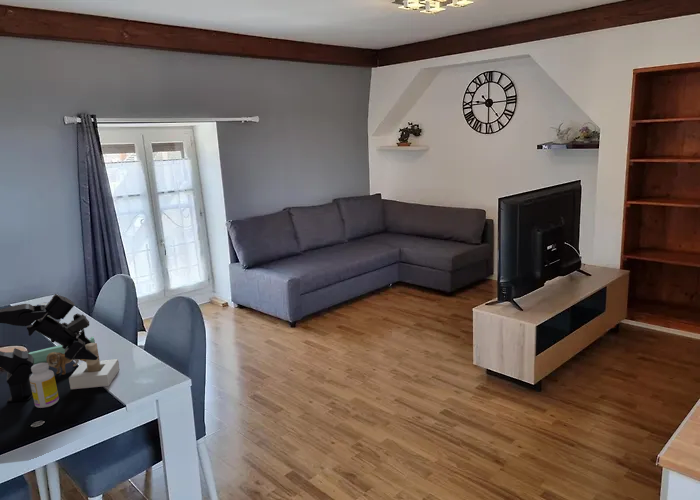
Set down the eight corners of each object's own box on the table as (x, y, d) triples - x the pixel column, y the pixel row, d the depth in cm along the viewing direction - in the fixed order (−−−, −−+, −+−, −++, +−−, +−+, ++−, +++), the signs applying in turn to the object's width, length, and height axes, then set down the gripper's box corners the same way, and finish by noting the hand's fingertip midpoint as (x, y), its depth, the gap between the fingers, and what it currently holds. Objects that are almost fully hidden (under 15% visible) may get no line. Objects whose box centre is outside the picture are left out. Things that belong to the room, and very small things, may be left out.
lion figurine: (55, 380, 175) (51, 356, 173) (45, 377, 178) (41, 353, 176) (93, 362, 188) (89, 339, 186) (83, 360, 191) (79, 337, 188)
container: (17, 353, 184) (93, 335, 197) (19, 354, 189) (93, 336, 202) (20, 369, 184) (96, 350, 196) (22, 369, 189) (96, 351, 201)
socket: (108, 385, 170) (106, 374, 169) (70, 389, 169) (68, 378, 168) (119, 369, 182) (117, 359, 181) (84, 372, 180) (82, 362, 179)
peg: (100, 381, 174) (94, 347, 171) (87, 382, 173) (81, 348, 170) (103, 375, 177) (98, 342, 174) (91, 376, 177) (86, 343, 174)
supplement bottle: (62, 396, 164) (55, 359, 161) (54, 407, 158) (46, 369, 155) (40, 398, 163) (33, 361, 160) (30, 409, 157) (23, 371, 154)
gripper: (70, 319, 159) (114, 344, 167) (71, 302, 176) (110, 325, 183) (45, 348, 158) (91, 372, 165) (48, 328, 174) (89, 351, 181)
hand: (96, 353), depth 174 cm, fingers open, 9 cm apart
